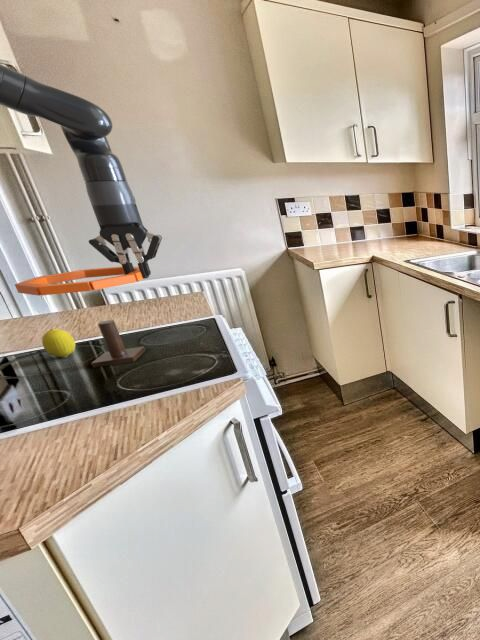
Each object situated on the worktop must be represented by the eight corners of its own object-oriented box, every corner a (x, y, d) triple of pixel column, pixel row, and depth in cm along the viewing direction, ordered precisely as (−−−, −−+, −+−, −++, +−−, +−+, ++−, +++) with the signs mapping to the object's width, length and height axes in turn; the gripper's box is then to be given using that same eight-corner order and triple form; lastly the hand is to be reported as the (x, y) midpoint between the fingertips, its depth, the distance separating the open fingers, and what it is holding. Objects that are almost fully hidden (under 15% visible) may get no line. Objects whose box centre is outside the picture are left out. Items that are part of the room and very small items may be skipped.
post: (93, 368, 101) (76, 329, 97) (107, 357, 107) (92, 319, 104) (134, 362, 103) (119, 324, 100) (146, 351, 110) (132, 315, 107)
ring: (-1, 299, 85) (-5, 290, 84) (53, 279, 103) (50, 272, 102) (128, 287, 93) (125, 279, 92) (158, 270, 110) (155, 263, 110)
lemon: (65, 362, 105) (52, 332, 102) (43, 362, 105) (29, 332, 102) (86, 353, 110) (74, 324, 107) (65, 354, 110) (52, 325, 107)
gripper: (65, 204, 89) (96, 285, 95) (145, 202, 94) (170, 278, 100) (82, 203, 95) (110, 278, 102) (156, 200, 101) (178, 272, 107)
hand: (140, 278), depth 101 cm, fingers closed on ring, 2 cm apart
